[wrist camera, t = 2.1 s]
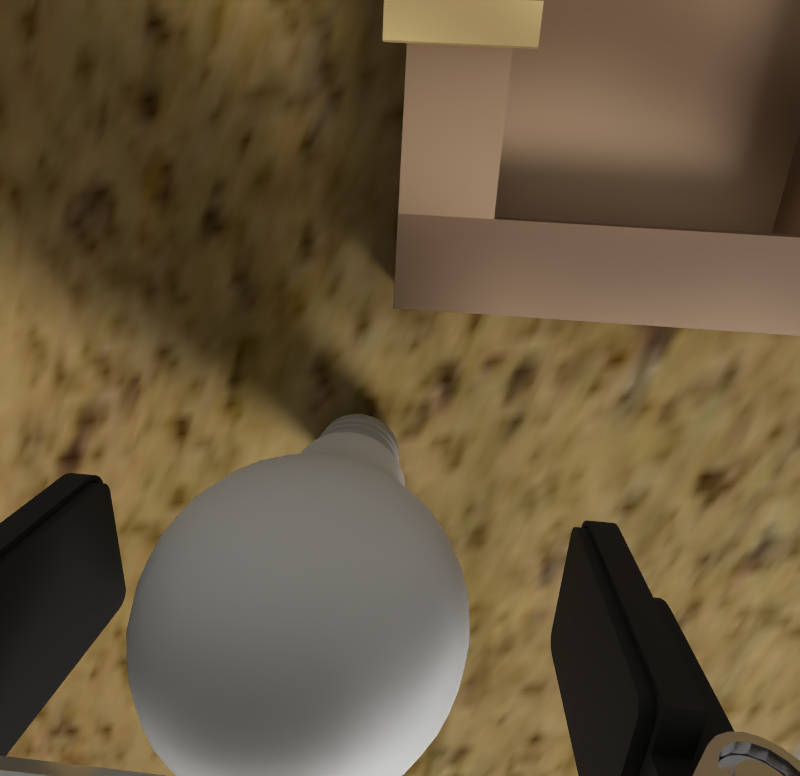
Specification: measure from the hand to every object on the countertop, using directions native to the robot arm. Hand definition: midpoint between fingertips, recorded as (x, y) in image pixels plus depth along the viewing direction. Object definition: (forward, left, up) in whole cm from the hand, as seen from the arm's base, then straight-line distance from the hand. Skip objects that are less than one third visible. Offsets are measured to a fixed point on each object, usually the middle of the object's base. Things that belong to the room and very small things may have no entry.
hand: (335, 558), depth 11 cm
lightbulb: (-1, 0, -7) cm, 7 cm away
